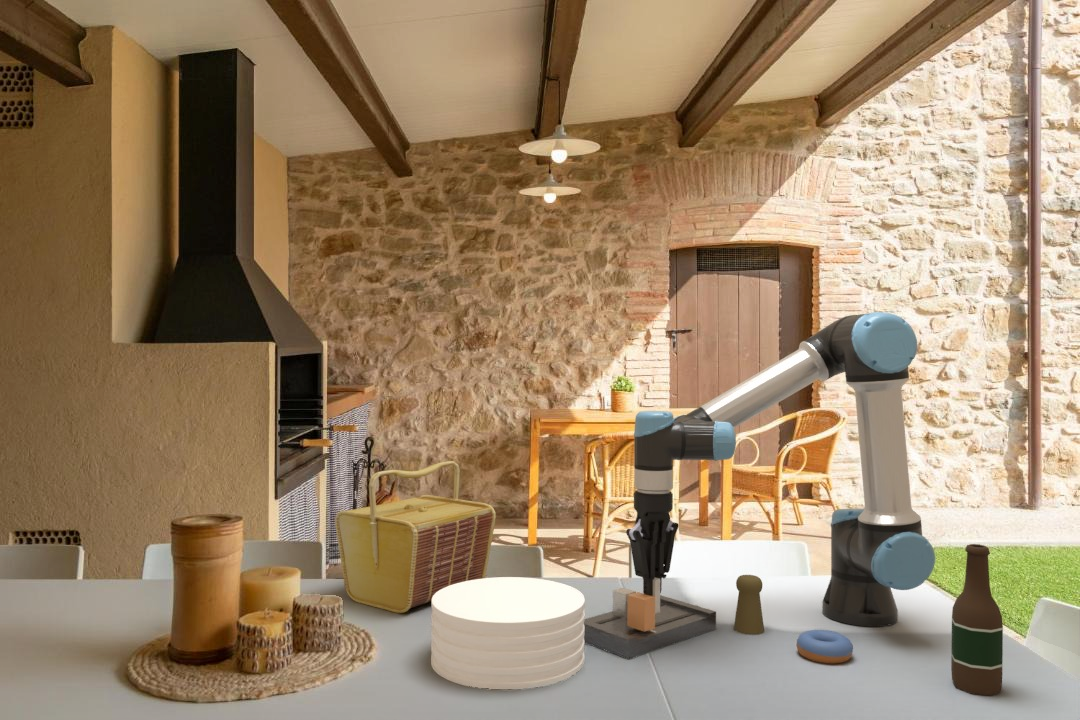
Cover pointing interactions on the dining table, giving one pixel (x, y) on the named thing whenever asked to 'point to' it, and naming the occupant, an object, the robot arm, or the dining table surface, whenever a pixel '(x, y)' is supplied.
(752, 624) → the cork
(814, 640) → the doughnut
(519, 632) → the plate stack
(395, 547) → the picnic basket
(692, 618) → the slider panel
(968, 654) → the beer bottle
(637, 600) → the fader
